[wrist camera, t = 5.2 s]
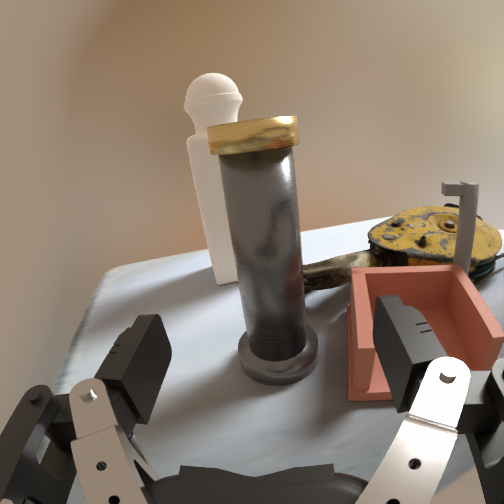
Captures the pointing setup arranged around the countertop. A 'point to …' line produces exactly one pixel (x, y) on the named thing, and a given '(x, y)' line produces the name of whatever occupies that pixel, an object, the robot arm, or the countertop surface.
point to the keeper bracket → (424, 307)
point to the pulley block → (411, 247)
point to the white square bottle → (212, 165)
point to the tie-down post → (266, 246)
